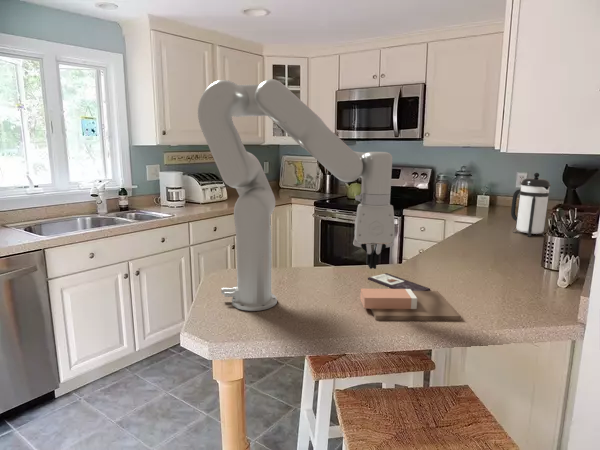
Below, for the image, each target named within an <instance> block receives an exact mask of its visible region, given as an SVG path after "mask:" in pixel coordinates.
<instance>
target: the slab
mask: <svg viewBox="0 0 600 450" xmlns="http://www.w3.org/2000/svg"><path fill="white" fill-rule="evenodd" d="M360 301H361V304H362V306H363V309H369V310H371V309H416V308H417V297H416V296H415V295H414V293H413V292H412V291H411V289H391V288H360Z"/></svg>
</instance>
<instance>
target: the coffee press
mask: <svg viewBox="0 0 600 450" xmlns="http://www.w3.org/2000/svg"><path fill="white" fill-rule="evenodd" d="M533 176H534V177H526V178H524V179H523V180H522V181H521V182H520V189H516V190H515V191H514V193H513V196H512V199H511V200H512V201H511V208H510V209H511V211H510V215H511V218H512V219H513V220H514V221H516V223H515V227H514V228H513V229H512V233H514V234H516V233H518V232H521V233H526V234H527V237H528V238H531V237H532V234H533V235H534V234H536V235H537V234H542V235H543V232H546V228H545V227H546V220H547V216H548V215H547V214H548V208H549V207H548V206H549V199H550V187H552V184H551V183H550V181H549V180H548V179H545V178H541V177H539V176H540V174H539V172H536V173H534V174H533ZM518 196H519V197H518ZM517 198H518V199H517ZM517 200H518V201H517ZM517 202H518V205H517ZM516 208H517V209H516ZM516 210H517V214H516ZM515 229H516V230H515ZM514 230H515V231H514Z"/></svg>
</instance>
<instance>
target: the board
mask: <svg viewBox="0 0 600 450" xmlns="http://www.w3.org/2000/svg"><path fill="white" fill-rule="evenodd" d="M412 292H413V293H414V295H415V296H416V297H417V308H416V309H370V311H371V313H372V316H373V317H374V318H373V319H374V320H375V321H461V319H462V316H461V314H460V313H459V312H458V311H457V310H456V308H454V307H453V306H452V305H451V304H450V302H448V300H447V299H446V298H445V297H444V296H443V295H442V294H441V292H440V291H438V290H429V291H412Z"/></svg>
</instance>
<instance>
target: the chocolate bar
mask: <svg viewBox="0 0 600 450" xmlns="http://www.w3.org/2000/svg"><path fill="white" fill-rule="evenodd" d="M367 280H368V281H371V282H373V283H377V284H379V285H381V286H384V287H386V288H388V287H389V288H388V289H411V291H431V288H430V287H426V286H424V285H421V284H418V283H415V282H413V281H410V280H407V279H404V278H401V277H398V276H395V275H393V274H391V273H385V272H384V273H382V274H378V275H373V276H369V277H367Z"/></svg>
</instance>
